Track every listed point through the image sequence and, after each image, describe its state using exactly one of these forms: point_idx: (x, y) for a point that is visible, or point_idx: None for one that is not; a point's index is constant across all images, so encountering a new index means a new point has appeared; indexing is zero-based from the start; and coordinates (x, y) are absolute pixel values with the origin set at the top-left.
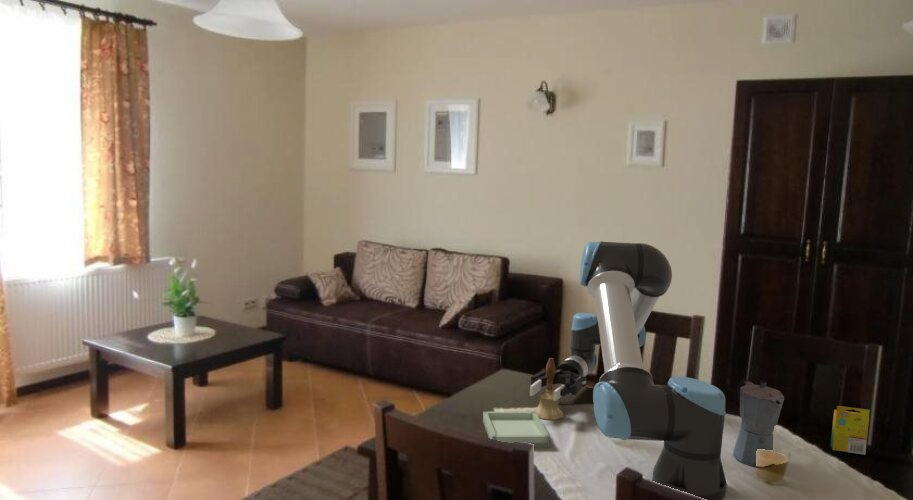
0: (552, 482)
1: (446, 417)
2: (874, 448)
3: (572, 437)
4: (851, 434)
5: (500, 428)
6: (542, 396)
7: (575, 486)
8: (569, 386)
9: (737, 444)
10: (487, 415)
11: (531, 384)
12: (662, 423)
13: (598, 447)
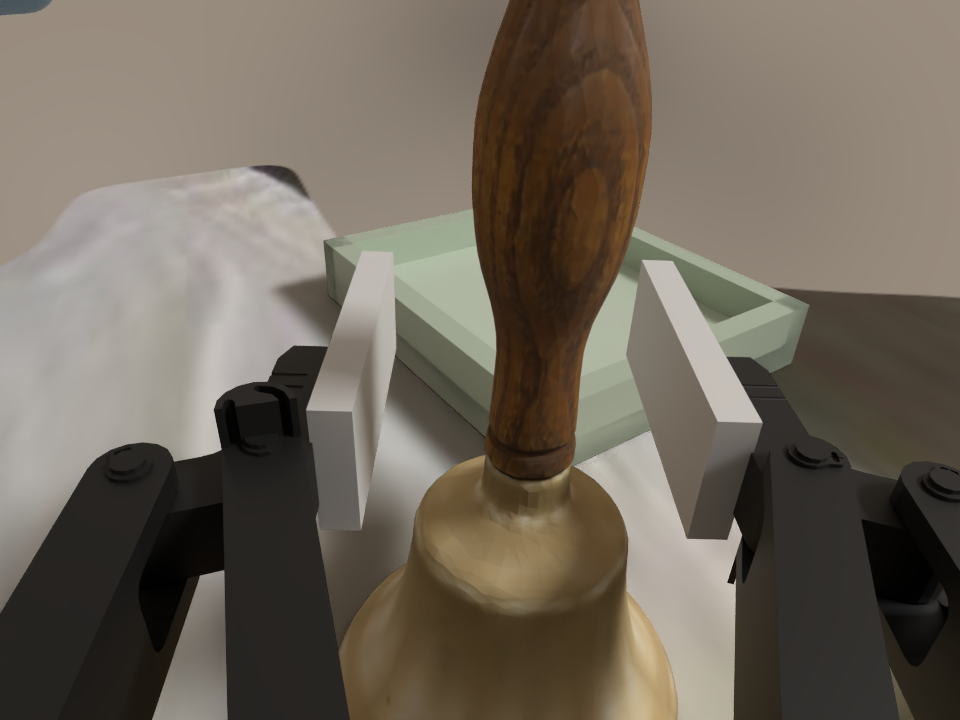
0: (266, 183)
1: None
2: None
3: (207, 403)
4: None
5: (616, 291)
6: (576, 468)
7: (189, 186)
8: (226, 457)
9: None
10: (743, 284)
11: (748, 361)
12: None
13: (38, 367)
